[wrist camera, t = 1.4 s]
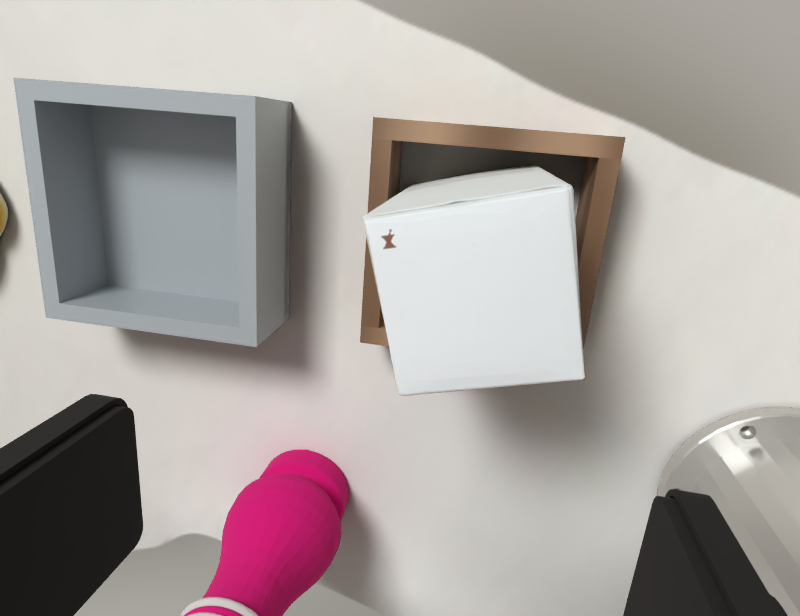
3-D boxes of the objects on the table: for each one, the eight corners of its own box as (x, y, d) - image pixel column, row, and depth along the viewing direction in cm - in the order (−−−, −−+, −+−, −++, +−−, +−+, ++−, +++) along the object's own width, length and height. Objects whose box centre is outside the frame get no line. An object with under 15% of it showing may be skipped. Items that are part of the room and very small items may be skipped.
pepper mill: (246, 447, 38) (6, 747, 19) (342, 437, 37) (183, 752, 18) (273, 532, 40) (79, 881, 21) (366, 526, 39) (245, 897, 20)
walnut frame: (610, 137, 28) (625, 137, 25) (570, 347, 32) (578, 371, 29) (386, 119, 30) (373, 117, 27) (373, 322, 34) (360, 342, 31)
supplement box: (427, 305, 33) (390, 400, 21) (409, 182, 31) (355, 210, 19) (553, 291, 31) (588, 386, 20) (541, 161, 29) (574, 178, 18)
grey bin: (291, 102, 31) (255, 96, 26) (288, 318, 35) (256, 347, 30) (83, 86, 32) (13, 77, 28) (103, 294, 36) (46, 317, 32)
